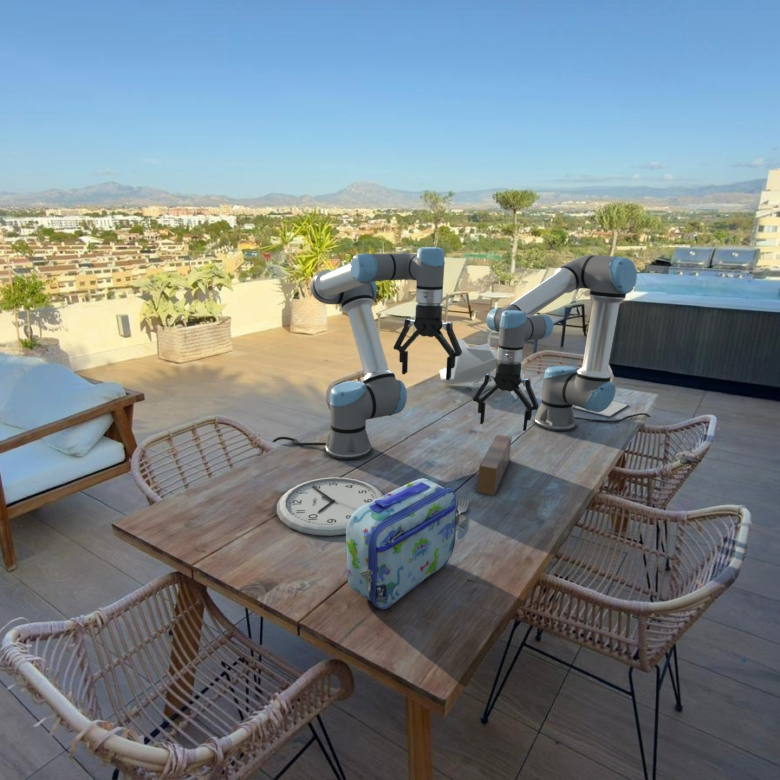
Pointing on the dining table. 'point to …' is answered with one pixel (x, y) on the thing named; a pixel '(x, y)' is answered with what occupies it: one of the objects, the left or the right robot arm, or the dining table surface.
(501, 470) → the bar
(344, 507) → the wall clock
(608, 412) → the invitation card
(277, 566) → the dining table surface
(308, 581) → the dining table surface
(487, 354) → the white plastic object
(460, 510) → the fork
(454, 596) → the dining table surface
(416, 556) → the lunch box
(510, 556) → the dining table surface
